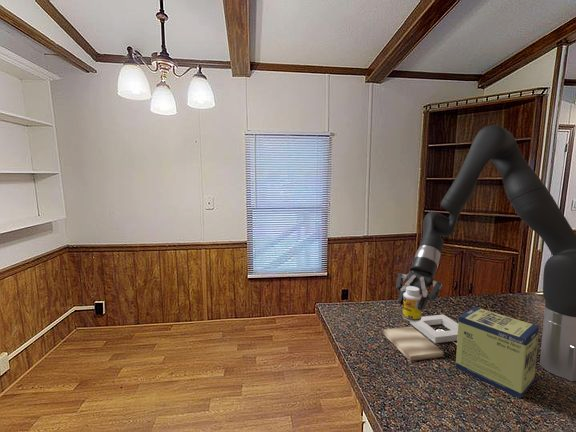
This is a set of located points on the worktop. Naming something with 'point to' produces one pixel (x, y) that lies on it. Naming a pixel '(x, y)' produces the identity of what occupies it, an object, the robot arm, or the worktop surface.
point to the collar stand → (433, 334)
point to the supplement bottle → (411, 304)
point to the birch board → (412, 343)
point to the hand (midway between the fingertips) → (410, 306)
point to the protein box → (497, 350)
